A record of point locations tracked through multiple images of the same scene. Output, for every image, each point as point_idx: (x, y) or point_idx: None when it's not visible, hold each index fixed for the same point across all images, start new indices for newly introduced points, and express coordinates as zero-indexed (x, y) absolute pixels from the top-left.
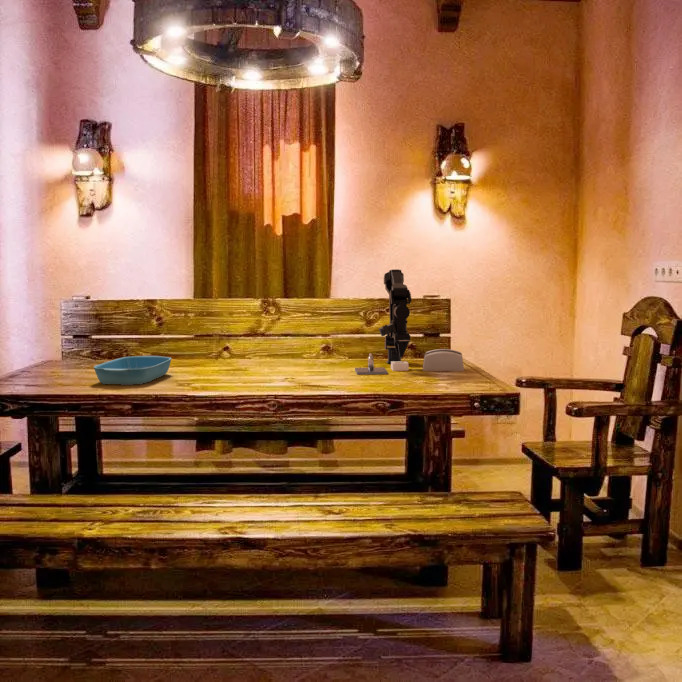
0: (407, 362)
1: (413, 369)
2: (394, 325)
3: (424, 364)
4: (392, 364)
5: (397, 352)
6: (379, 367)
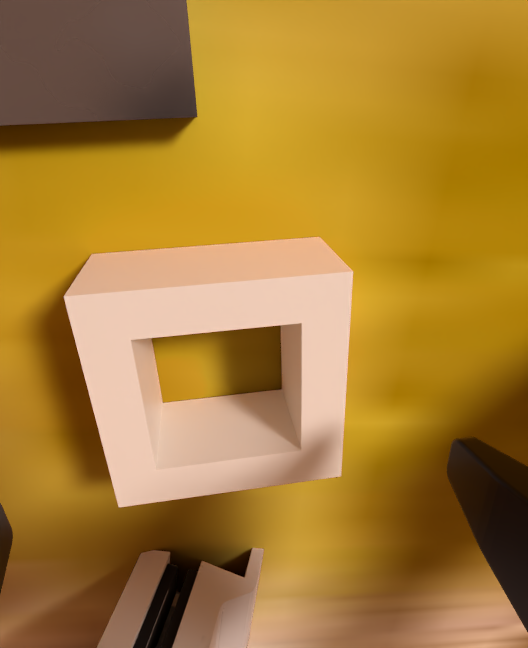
0: (202, 493)
1: None
2: None
3: (103, 633)
4: (134, 280)
5: (471, 470)
6: (182, 18)
